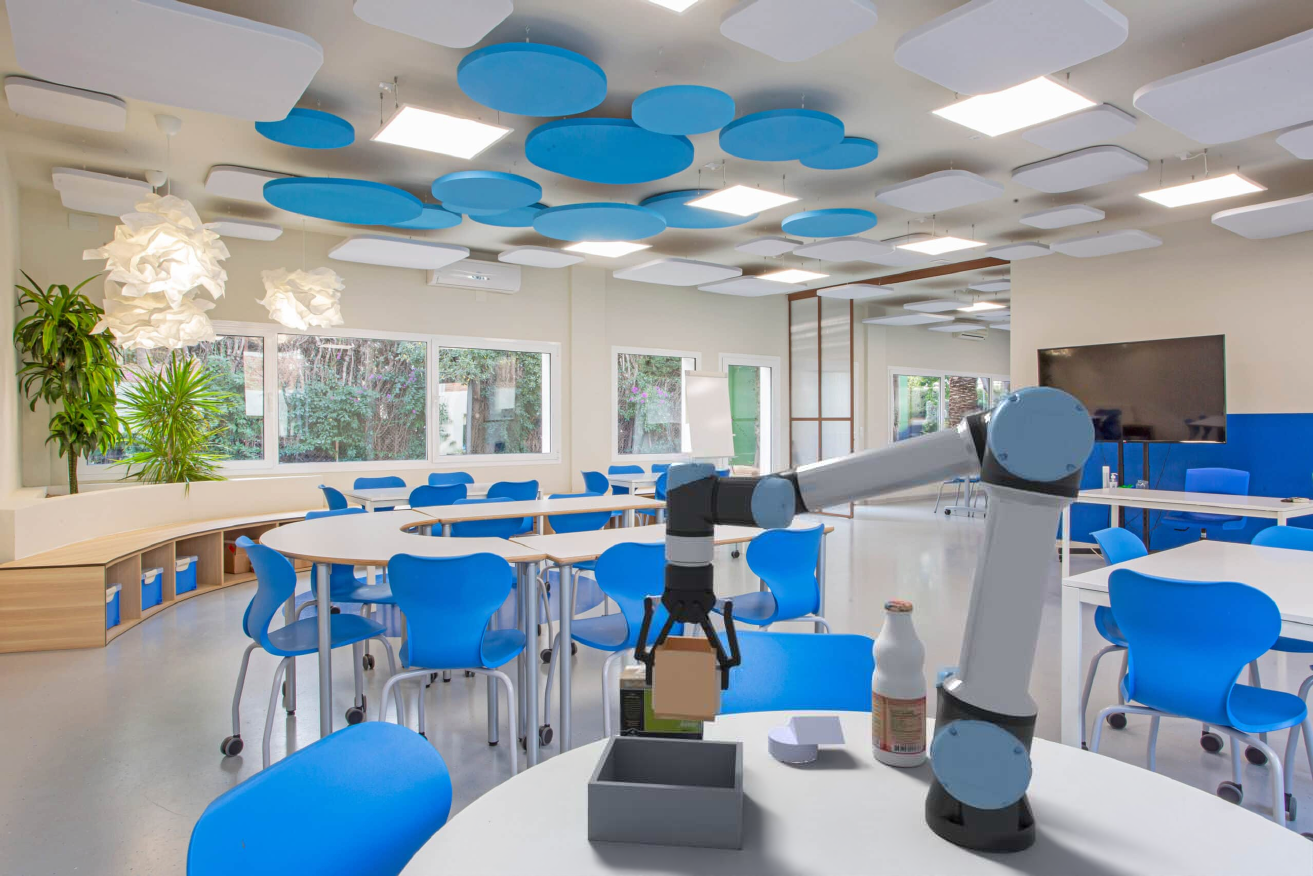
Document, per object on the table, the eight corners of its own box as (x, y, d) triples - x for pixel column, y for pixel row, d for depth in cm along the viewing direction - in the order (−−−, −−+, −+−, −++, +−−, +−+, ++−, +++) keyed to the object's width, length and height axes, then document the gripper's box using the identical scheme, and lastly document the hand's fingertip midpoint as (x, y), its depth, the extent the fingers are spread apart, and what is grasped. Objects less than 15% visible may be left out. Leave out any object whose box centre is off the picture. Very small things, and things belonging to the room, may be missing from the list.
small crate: (717, 701, 120) (718, 638, 120) (714, 722, 111) (715, 654, 111) (661, 697, 121) (662, 635, 121) (653, 718, 112) (655, 650, 112)
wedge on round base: (832, 743, 144) (764, 743, 143) (832, 707, 144) (764, 708, 143) (845, 763, 135) (773, 763, 134) (845, 725, 135) (773, 726, 134)
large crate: (742, 791, 123) (742, 742, 123) (741, 849, 106) (741, 792, 106) (610, 783, 126) (610, 735, 126) (587, 839, 108) (587, 783, 108)
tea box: (704, 741, 144) (704, 664, 145) (702, 763, 134) (702, 680, 135) (626, 738, 146) (626, 661, 146) (618, 759, 136) (618, 677, 136)
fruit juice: (861, 755, 138) (860, 602, 138) (893, 743, 143) (892, 596, 144) (905, 773, 130) (904, 611, 130) (937, 760, 136) (936, 604, 136)
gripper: (760, 560, 118) (757, 704, 118) (624, 555, 121) (621, 695, 121) (760, 568, 111) (757, 722, 111) (615, 563, 114) (612, 712, 114)
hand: (686, 708), depth 116 cm, fingers closed on small crate, 9 cm apart
